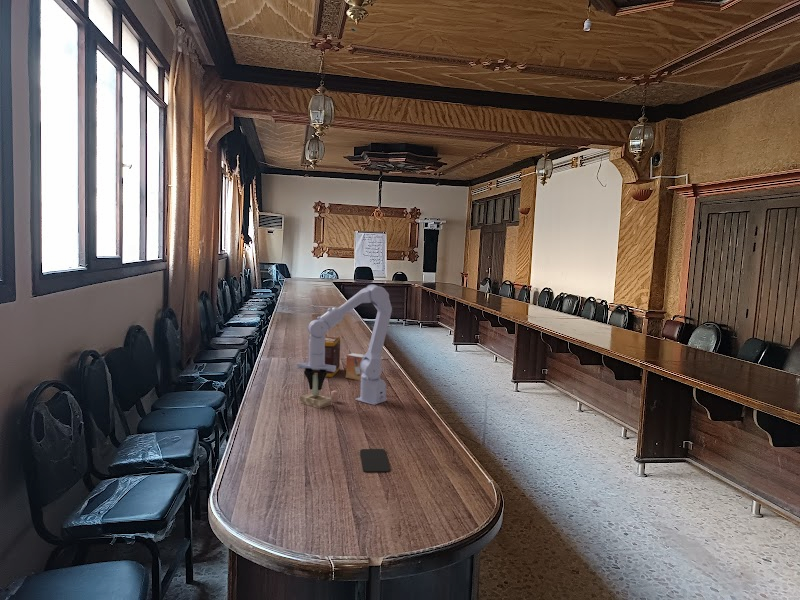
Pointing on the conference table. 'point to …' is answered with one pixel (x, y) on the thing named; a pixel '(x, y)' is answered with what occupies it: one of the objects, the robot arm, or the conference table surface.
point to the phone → (374, 460)
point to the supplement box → (331, 354)
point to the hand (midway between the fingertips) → (315, 389)
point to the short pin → (334, 396)
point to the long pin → (315, 385)
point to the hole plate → (315, 400)
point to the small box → (354, 366)
